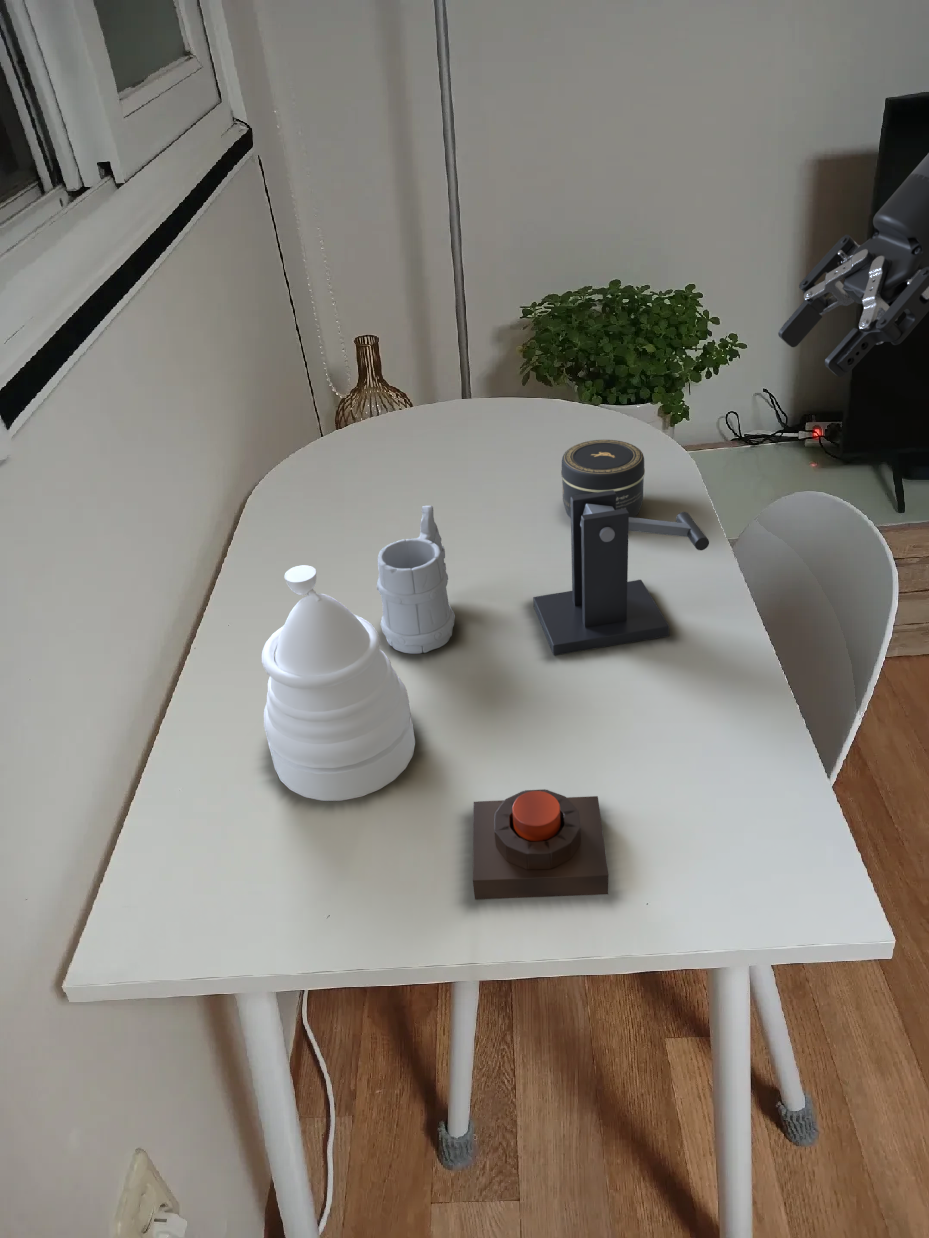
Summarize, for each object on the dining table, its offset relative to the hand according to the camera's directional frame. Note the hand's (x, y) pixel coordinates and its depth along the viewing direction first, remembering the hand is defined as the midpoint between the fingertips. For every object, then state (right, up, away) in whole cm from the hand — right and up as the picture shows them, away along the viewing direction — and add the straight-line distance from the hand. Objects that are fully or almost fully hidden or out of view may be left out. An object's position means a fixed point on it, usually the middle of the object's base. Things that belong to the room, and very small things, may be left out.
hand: (807, 355), depth 86 cm
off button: (-25, -39, -13) cm, 49 cm away
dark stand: (-17, -24, +14) cm, 32 cm away
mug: (-35, -24, +16) cm, 46 cm away
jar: (-14, -11, +33) cm, 37 cm away
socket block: (-25, -42, -11) cm, 50 cm away
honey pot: (-42, -36, +1) cm, 55 cm away
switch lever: (-14, -16, +9) cm, 22 cm away
